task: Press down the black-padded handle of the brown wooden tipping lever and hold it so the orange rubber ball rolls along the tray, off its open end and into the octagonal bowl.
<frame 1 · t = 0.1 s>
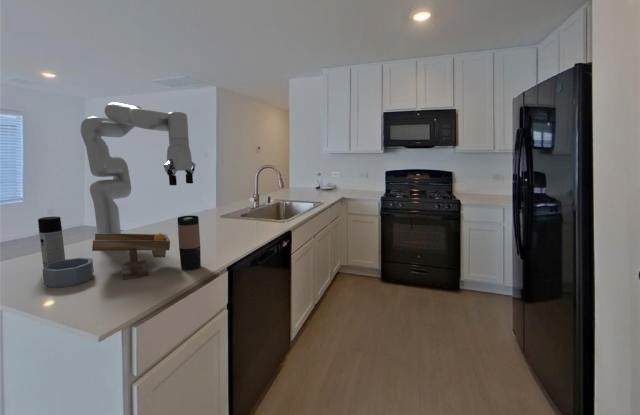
hand: (181, 184, 137), 31 cm above the counter, tool pointing down, fingers open, 9 cm apart
lever tray: (132, 243, 125), point 10 cm above the counter, hinge at -8.1°, touching ball
travel mug: (191, 267, 127), on the counter
ball: (159, 238, 126), point 11 cm above the counter, tilted 14°, touching lever tray
octagonal bowl: (70, 280, 113), on the counter
spray can: (55, 269, 124), on the counter
pivot stand: (134, 270, 123), on the counter
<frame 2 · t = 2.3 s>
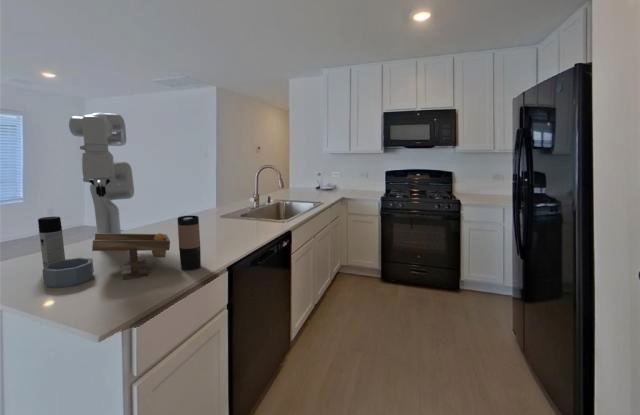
hand: (101, 196, 128), 27 cm above the counter, tool pointing down, fingers closed
nothing on the counter moved.
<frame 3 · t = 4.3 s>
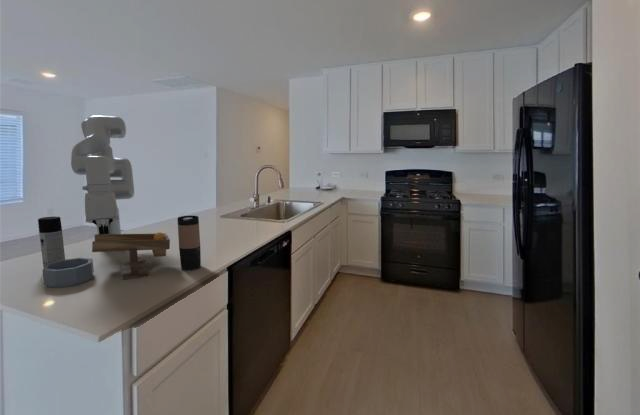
hand: (104, 235, 125), 12 cm above the counter, tool pointing down, fingers closed
lever tray: (132, 243, 125), point 10 cm above the counter, hinge at -5.8°, touching ball, gripper
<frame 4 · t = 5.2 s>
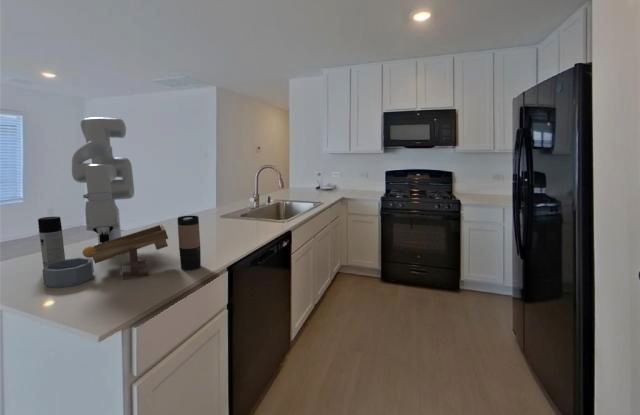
hand: (104, 243, 126), 9 cm above the counter, tool pointing down, fingers closed
lever tray: (132, 243, 125), point 10 cm above the counter, hinge at 14.0°, touching gripper
ball: (89, 252, 115), point 9 cm above the counter, tilted 81°
everything else where it was.
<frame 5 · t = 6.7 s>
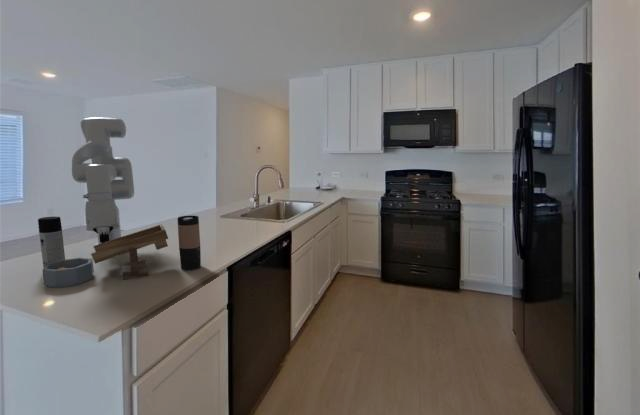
hand: (104, 243, 126), 9 cm above the counter, tool pointing down, fingers closed
ball: (61, 273, 111), point 3 cm above the counter, tilted 162°, touching octagonal bowl
everything else where it was.
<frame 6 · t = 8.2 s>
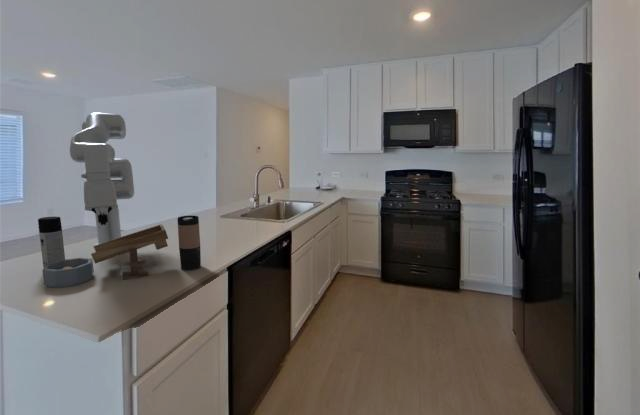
hand: (103, 224, 126), 17 cm above the counter, tool pointing down, fingers closed
lever tray: (132, 243, 125), point 10 cm above the counter, hinge at 14.1°
ball: (67, 272, 112), point 3 cm above the counter, tilted 154°, touching octagonal bowl
everything else where it was.
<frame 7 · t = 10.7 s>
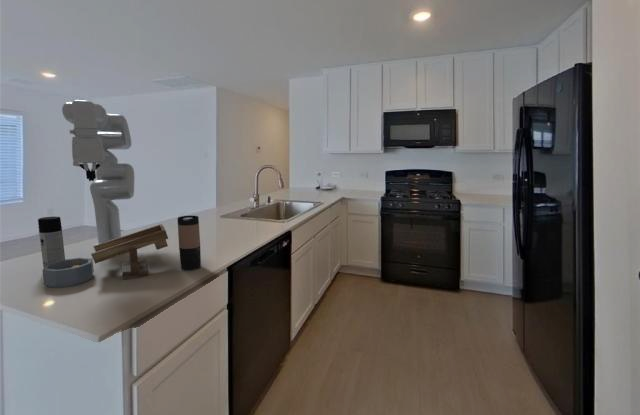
hand: (91, 180, 129), 33 cm above the counter, tool pointing down, fingers closed
ball: (76, 271, 113), point 3 cm above the counter, tilted 80°, touching octagonal bowl
everything else where it was.
at the end: ball inside the target area on the octagonal bowl (2.2 cm from its centre), point 3.0 cm above the octagonal bowl's base; ball touching octagonal bowl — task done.
